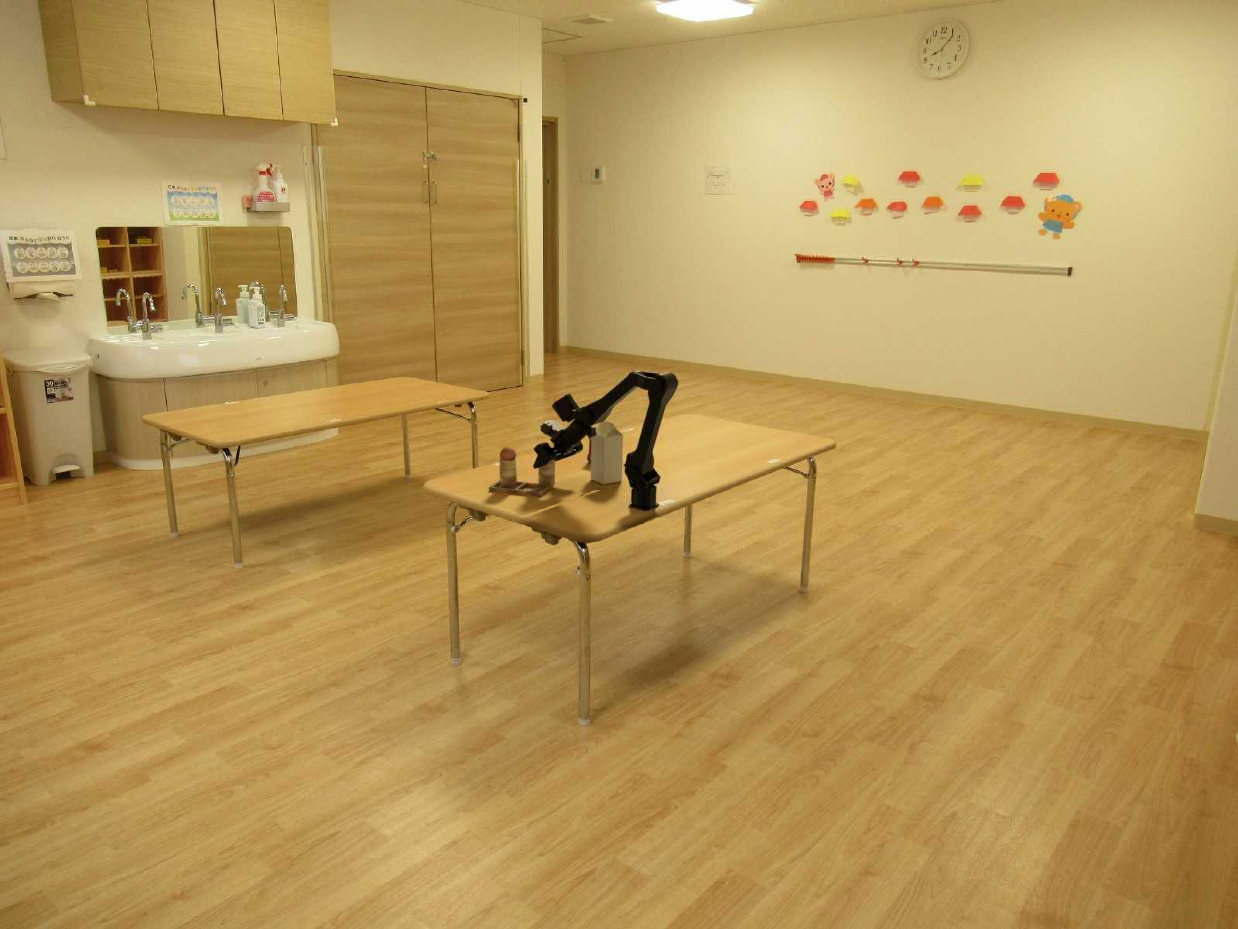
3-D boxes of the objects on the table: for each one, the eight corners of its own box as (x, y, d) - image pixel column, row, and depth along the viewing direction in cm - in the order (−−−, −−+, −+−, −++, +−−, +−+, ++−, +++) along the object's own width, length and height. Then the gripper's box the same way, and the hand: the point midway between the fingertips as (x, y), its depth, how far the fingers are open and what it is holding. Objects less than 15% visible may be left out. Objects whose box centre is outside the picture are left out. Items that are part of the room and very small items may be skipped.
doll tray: (551, 491, 269) (551, 485, 269) (541, 499, 261) (541, 492, 261) (500, 485, 274) (500, 479, 273) (489, 493, 266) (489, 487, 265)
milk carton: (603, 485, 277) (604, 424, 272) (590, 479, 283) (591, 420, 278) (622, 481, 281) (623, 422, 276) (608, 476, 287) (610, 418, 282)
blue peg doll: (558, 486, 275) (558, 445, 272) (547, 489, 271) (547, 448, 268) (545, 483, 278) (545, 443, 274) (534, 486, 274) (534, 446, 270)
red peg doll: (520, 488, 269) (519, 446, 265) (508, 491, 265) (508, 450, 262) (507, 485, 272) (507, 444, 268) (496, 488, 268) (495, 447, 264)
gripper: (575, 407, 274) (545, 437, 282) (539, 417, 258) (508, 449, 267) (596, 436, 272) (566, 465, 280) (561, 448, 257) (530, 479, 265)
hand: (543, 464), depth 273 cm, fingers open, 9 cm apart
